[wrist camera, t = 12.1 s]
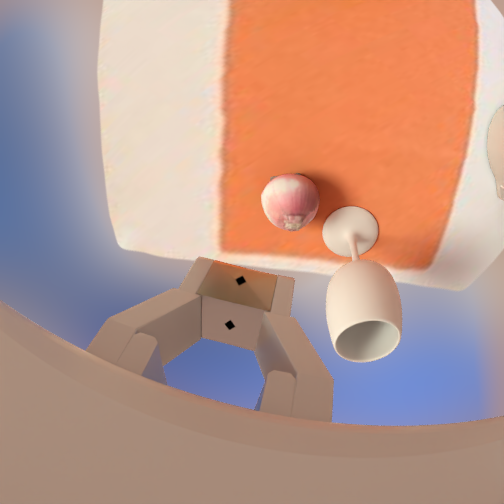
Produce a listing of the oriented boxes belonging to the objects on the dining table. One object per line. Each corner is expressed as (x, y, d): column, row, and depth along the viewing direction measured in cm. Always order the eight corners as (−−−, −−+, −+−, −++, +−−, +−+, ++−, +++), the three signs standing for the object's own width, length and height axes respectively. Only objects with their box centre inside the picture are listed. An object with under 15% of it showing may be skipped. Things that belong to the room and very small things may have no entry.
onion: (303, 219, 42) (286, 251, 38) (262, 188, 42) (240, 216, 37) (335, 188, 36) (322, 219, 32) (289, 152, 35) (268, 177, 31)
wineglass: (342, 264, 44) (349, 377, 27) (311, 226, 42) (304, 335, 24) (387, 238, 40) (422, 346, 23) (358, 194, 37) (391, 294, 20)
